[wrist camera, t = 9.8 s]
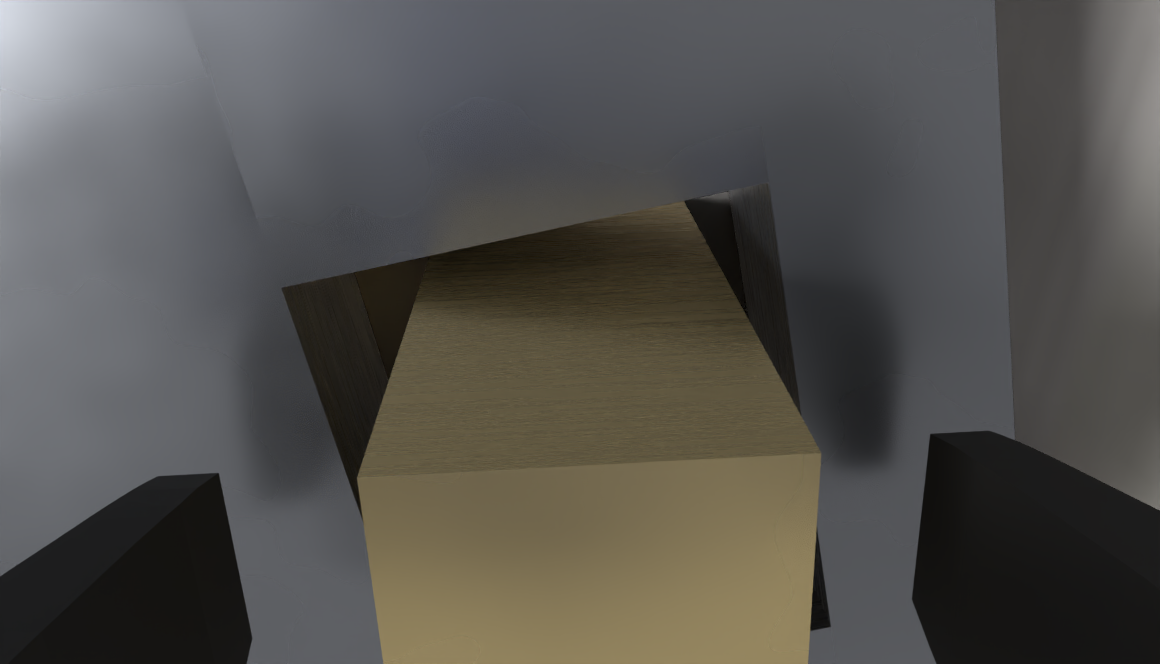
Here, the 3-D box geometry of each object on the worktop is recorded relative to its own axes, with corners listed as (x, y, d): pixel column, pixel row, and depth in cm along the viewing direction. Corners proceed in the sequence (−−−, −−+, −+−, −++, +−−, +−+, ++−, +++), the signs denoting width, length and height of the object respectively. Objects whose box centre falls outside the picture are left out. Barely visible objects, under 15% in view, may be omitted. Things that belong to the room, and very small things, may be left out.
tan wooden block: (468, 468, 15) (415, 892, 8) (444, 209, 13) (357, 478, 7) (682, 458, 15) (795, 868, 8) (682, 198, 13) (821, 453, 7)
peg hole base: (-9, 766, 16) (-120, 937, 14) (-666, -348, 10) (-1103, -448, 8) (940, 578, 16) (1028, 716, 13) (831, -727, 10) (948, -990, 7)
